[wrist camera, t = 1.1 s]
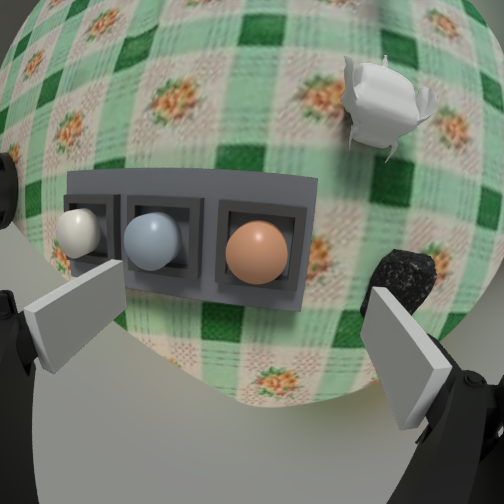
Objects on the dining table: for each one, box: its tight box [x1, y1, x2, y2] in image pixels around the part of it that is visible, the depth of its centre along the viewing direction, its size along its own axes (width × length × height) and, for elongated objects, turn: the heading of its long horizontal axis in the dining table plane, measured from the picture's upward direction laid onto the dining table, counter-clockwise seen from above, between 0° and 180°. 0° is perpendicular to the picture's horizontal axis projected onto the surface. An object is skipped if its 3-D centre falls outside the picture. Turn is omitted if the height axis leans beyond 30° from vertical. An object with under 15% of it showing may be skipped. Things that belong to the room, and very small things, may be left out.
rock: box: [360, 249, 437, 316], centre depth 28 cm, size 7×10×6 cm
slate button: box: [124, 212, 182, 271], centre depth 25 cm, size 5×5×2 cm
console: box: [64, 168, 318, 312], centre depth 29 cm, size 30×14×6 cm, turn 85°
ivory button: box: [56, 208, 101, 258], centre depth 25 cm, size 5×5×2 cm
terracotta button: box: [226, 220, 288, 284], centre depth 24 cm, size 5×5×2 cm
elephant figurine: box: [341, 55, 437, 163], centre depth 22 cm, size 10×12×9 cm
